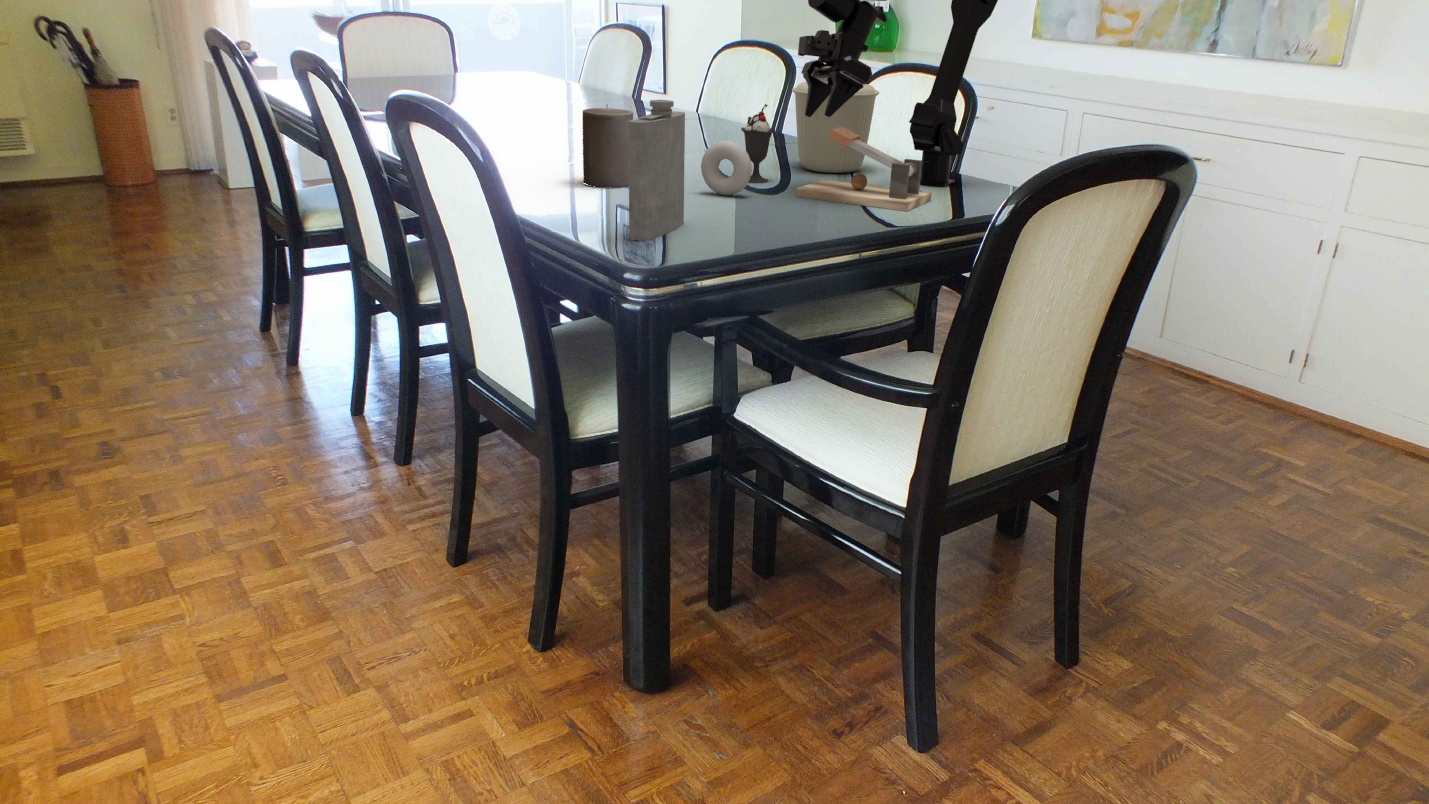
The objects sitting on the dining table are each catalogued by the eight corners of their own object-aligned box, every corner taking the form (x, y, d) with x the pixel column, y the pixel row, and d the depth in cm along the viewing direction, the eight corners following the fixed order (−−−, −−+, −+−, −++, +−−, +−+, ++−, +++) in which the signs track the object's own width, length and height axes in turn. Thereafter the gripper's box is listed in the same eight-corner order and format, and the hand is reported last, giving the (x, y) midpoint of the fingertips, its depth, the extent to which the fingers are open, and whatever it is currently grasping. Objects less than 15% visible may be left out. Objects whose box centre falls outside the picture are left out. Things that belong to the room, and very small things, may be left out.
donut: (753, 196, 192) (755, 141, 188) (746, 199, 189) (748, 143, 185) (705, 191, 196) (706, 137, 192) (697, 194, 193) (698, 139, 189)
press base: (823, 187, 202) (825, 148, 200) (930, 200, 192) (934, 159, 189) (795, 196, 193) (797, 155, 190) (906, 211, 182) (910, 168, 180)
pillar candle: (573, 185, 198) (572, 104, 192) (597, 177, 207) (597, 99, 201) (619, 190, 195) (619, 108, 189) (641, 182, 203) (642, 103, 198)
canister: (773, 165, 226) (777, 63, 218) (844, 161, 233) (851, 63, 225) (815, 179, 211) (821, 70, 203) (889, 174, 218) (898, 69, 210)
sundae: (770, 184, 204) (773, 105, 198) (736, 182, 205) (739, 104, 199) (775, 178, 210) (778, 102, 204) (742, 177, 211) (745, 100, 205)
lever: (838, 137, 194) (843, 125, 193) (914, 177, 189) (919, 165, 187) (826, 140, 190) (831, 128, 189) (904, 181, 185) (909, 169, 183)
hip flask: (669, 220, 171) (670, 94, 164) (691, 222, 170) (693, 96, 162) (625, 239, 158) (624, 103, 150) (649, 242, 156) (649, 105, 149)
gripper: (795, 18, 193) (761, 97, 195) (836, 8, 175) (799, 95, 177) (844, 46, 197) (811, 123, 199) (889, 39, 180) (852, 123, 181)
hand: (816, 116), depth 189 cm, fingers open, 9 cm apart
